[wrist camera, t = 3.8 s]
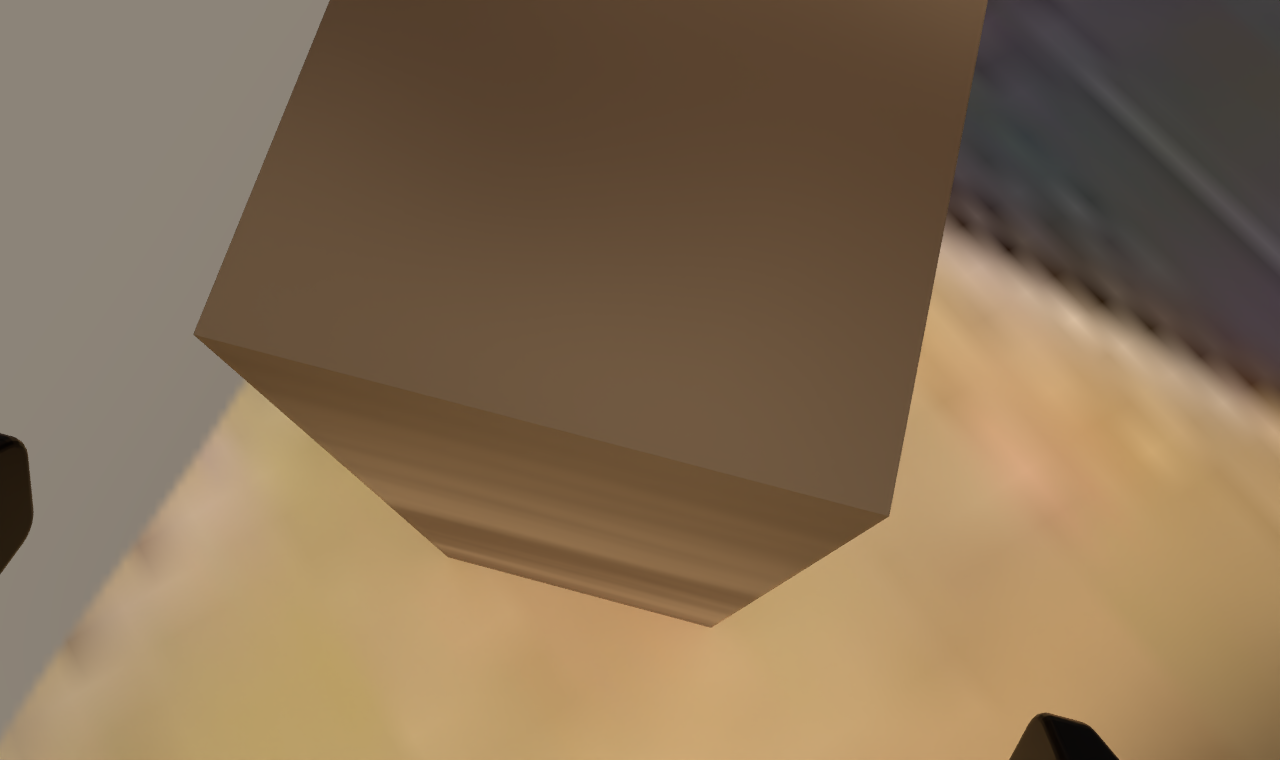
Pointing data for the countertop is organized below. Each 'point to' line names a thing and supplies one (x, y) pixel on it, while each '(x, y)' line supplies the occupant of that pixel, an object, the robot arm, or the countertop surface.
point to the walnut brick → (608, 275)
